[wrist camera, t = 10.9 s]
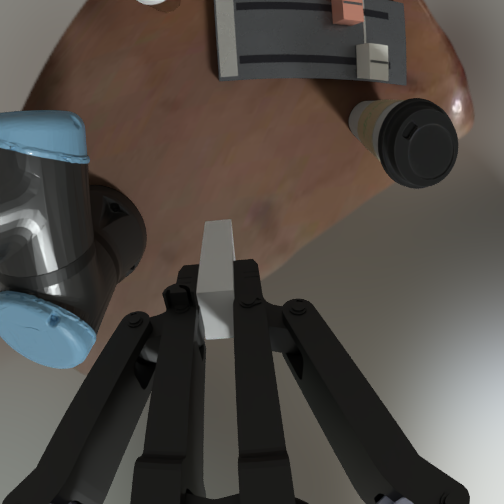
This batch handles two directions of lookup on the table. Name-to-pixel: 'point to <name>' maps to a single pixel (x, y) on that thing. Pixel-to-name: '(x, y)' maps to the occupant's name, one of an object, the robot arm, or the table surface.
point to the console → (304, 39)
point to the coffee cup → (407, 139)
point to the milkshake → (162, 4)
